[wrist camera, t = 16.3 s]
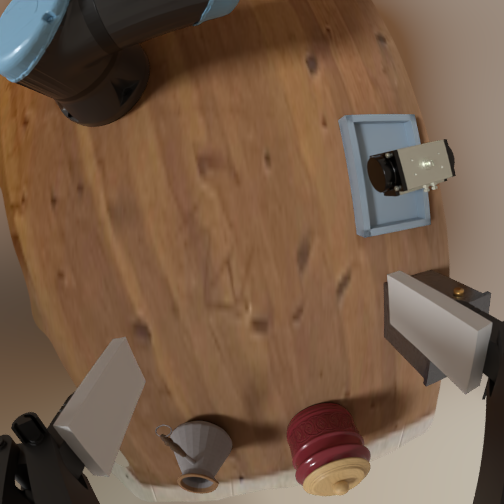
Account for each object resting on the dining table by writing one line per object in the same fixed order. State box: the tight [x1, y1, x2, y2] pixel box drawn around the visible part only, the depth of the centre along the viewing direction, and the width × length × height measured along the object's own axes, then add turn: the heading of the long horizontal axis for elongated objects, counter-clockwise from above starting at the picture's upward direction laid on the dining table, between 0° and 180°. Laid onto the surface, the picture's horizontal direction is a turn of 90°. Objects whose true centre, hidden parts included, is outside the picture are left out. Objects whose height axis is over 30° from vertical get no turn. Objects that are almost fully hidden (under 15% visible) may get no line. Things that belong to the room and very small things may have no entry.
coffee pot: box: [155, 421, 232, 493], centre depth 39 cm, size 21×12×15 cm, turn 9°
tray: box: [338, 114, 431, 237], centre depth 38 cm, size 17×12×3 cm
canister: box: [287, 403, 370, 496], centre depth 40 cm, size 13×13×18 cm
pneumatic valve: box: [367, 139, 455, 197], centre depth 33 cm, size 6×12×12 cm, turn 108°
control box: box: [384, 270, 491, 386], centre depth 37 cm, size 11×11×15 cm
